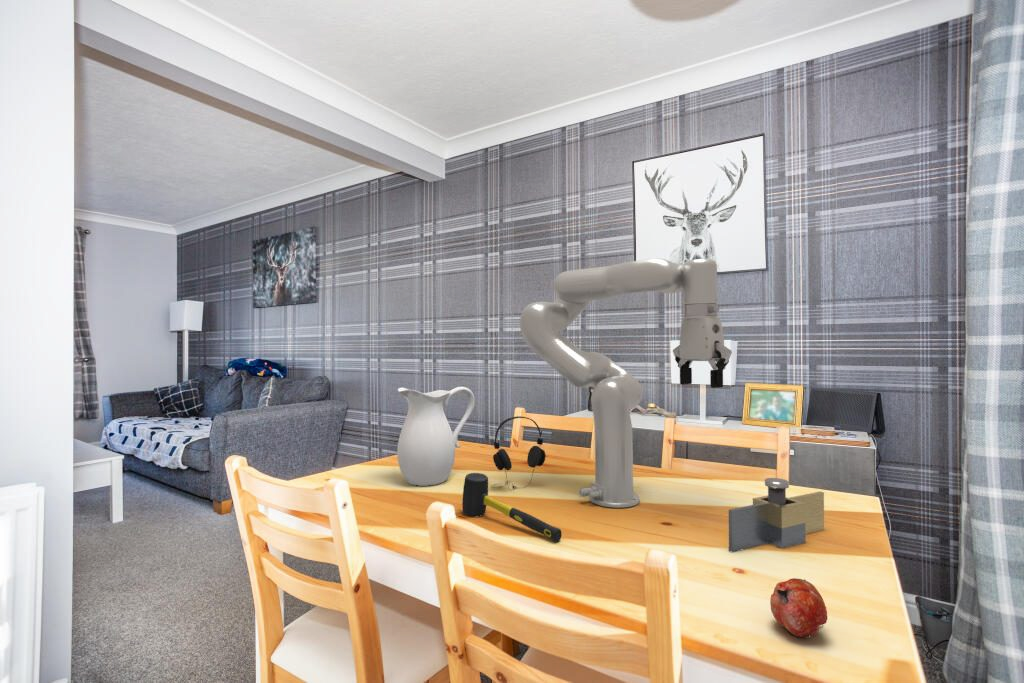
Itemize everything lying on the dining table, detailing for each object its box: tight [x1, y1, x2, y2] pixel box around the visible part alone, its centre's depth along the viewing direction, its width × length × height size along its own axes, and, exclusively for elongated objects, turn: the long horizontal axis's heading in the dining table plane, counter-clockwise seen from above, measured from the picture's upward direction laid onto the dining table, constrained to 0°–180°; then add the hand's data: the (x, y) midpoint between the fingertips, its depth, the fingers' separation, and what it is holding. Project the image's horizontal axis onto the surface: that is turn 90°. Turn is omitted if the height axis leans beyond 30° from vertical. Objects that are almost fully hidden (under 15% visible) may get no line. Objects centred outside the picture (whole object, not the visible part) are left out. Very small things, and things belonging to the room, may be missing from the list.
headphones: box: [492, 415, 547, 491], centre depth 146 cm, size 15×11×20 cm
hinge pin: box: [764, 477, 790, 506], centre depth 106 cm, size 4×4×12 cm
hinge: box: [728, 491, 825, 553], centre depth 106 cm, size 27×7×8 cm, turn 114°
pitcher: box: [396, 386, 476, 487], centre depth 155 cm, size 24×17×28 cm
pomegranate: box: [769, 577, 828, 638], centre depth 73 cm, size 7×7×10 cm
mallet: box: [461, 472, 563, 543], centre depth 116 cm, size 29×6×10 cm, turn 46°
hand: (700, 385), depth 121 cm, fingers open, 9 cm apart
